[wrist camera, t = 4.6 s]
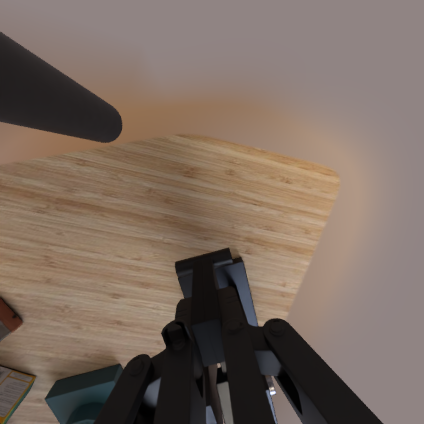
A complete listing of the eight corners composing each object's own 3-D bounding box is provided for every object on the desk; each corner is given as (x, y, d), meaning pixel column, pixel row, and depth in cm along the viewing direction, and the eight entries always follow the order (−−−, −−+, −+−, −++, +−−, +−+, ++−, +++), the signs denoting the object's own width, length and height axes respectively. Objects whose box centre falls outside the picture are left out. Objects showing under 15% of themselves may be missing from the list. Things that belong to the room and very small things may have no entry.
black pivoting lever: (178, 261, 19) (172, 261, 17) (228, 248, 19) (229, 246, 17) (208, 411, 16) (206, 436, 14) (268, 395, 16) (276, 417, 14)
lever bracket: (178, 273, 25) (160, 384, 12) (241, 256, 25) (285, 350, 12) (199, 336, 27) (201, 481, 15) (256, 321, 27) (305, 453, 15)
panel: (55, 380, 27) (32, 417, 23) (120, 363, 27) (107, 396, 24) (90, 438, 30) (75, 478, 26) (148, 422, 30) (141, 460, 27)
